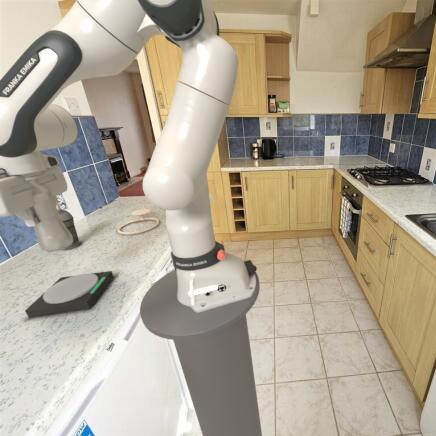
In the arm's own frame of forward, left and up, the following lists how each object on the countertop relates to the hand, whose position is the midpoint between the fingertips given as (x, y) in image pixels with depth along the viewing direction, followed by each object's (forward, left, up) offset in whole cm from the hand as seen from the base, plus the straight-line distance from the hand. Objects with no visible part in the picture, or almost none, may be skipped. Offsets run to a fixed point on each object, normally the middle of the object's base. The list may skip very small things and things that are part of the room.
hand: (44, 219), depth 61 cm
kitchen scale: (0, +1, -24) cm, 24 cm away
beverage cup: (+19, -33, -24) cm, 45 cm away
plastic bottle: (-1, 0, -9) cm, 9 cm away
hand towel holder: (-1, -48, -24) cm, 54 cm away
